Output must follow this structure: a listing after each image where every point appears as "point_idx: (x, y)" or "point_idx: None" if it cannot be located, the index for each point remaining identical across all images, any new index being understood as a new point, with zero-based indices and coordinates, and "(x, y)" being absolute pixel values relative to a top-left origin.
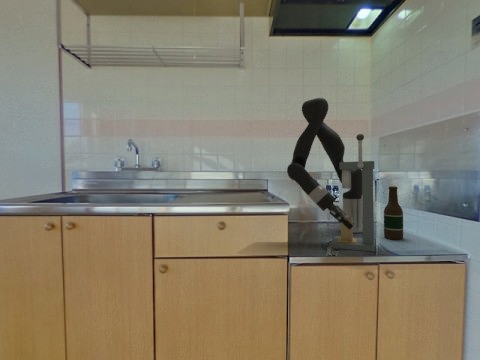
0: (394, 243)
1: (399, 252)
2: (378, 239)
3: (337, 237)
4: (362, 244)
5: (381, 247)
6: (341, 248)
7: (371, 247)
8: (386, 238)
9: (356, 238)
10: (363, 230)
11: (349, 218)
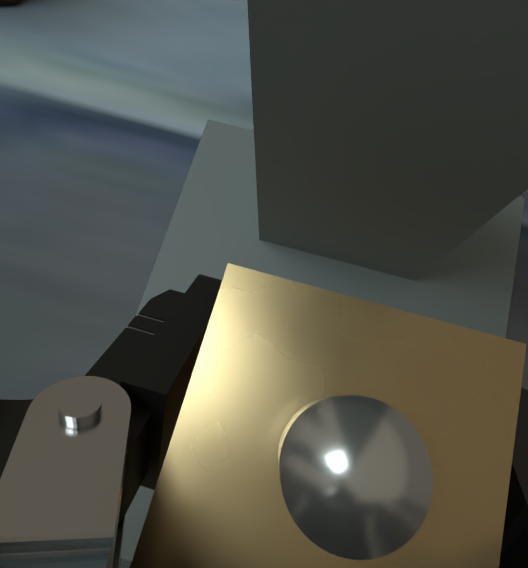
0: (183, 2)
1: None
2: (39, 71)
3: (138, 517)
4: (464, 295)
5: None
6: None
7: (515, 233)
8: (10, 4)
9: (184, 287)
10: (487, 213)
11: (340, 373)
